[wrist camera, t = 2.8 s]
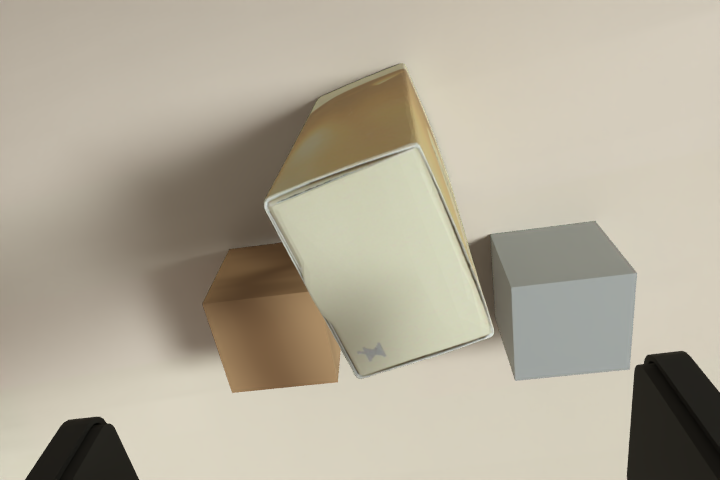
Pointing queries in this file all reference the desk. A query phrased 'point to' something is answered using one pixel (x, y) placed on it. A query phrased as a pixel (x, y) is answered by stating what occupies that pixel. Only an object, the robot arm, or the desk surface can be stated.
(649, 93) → the desk surface
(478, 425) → the desk surface
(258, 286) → the walnut block
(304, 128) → the skincare box
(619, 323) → the slate grey block
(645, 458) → the robot arm
